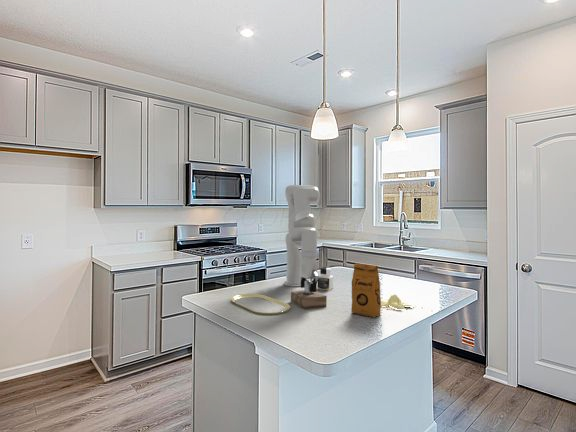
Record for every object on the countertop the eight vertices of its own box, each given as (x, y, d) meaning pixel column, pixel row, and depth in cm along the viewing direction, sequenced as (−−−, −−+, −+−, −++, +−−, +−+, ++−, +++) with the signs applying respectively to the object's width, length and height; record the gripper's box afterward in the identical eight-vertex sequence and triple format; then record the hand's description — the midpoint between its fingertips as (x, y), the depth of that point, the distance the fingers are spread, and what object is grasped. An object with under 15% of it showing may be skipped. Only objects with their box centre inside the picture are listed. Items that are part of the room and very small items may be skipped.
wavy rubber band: (264, 319, 146) (264, 315, 146) (224, 300, 173) (224, 297, 173) (298, 311, 157) (298, 307, 157) (256, 295, 185) (256, 292, 185)
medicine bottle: (317, 289, 198) (317, 268, 197) (321, 286, 204) (322, 266, 204) (329, 290, 195) (329, 269, 194) (333, 288, 201) (333, 267, 200)
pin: (303, 301, 168) (303, 280, 168) (309, 300, 170) (309, 280, 170) (306, 303, 165) (306, 282, 165) (313, 302, 167) (313, 281, 166)
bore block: (290, 301, 171) (290, 291, 171) (312, 298, 176) (312, 289, 176) (303, 309, 159) (303, 298, 158) (326, 306, 164) (326, 295, 164)
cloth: (363, 305, 167) (364, 293, 167) (387, 299, 179) (387, 287, 179) (404, 317, 150) (405, 303, 150) (427, 310, 161) (428, 297, 161)
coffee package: (374, 320, 145) (375, 267, 144) (348, 314, 152) (348, 264, 152) (384, 314, 152) (385, 264, 152) (358, 308, 160) (359, 261, 160)
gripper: (294, 252, 173) (293, 286, 174) (310, 257, 157) (310, 294, 158) (307, 251, 176) (306, 285, 177) (324, 256, 161) (324, 293, 161)
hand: (308, 289), depth 167 cm, fingers open, 9 cm apart
